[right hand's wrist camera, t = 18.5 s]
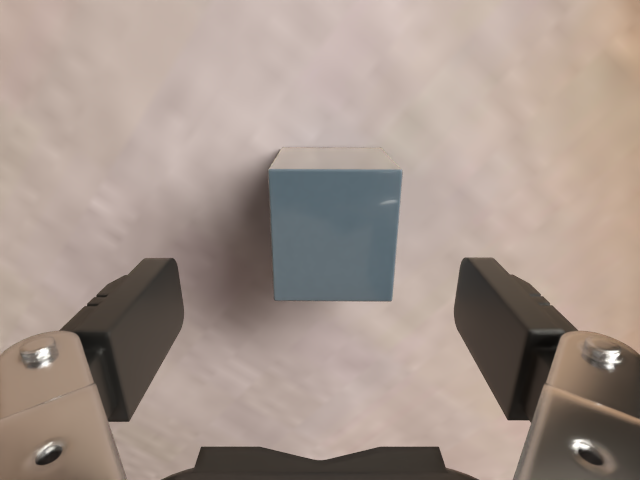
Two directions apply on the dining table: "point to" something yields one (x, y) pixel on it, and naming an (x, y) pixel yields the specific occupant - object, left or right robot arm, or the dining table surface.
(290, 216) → the block
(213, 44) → the dining table surface
